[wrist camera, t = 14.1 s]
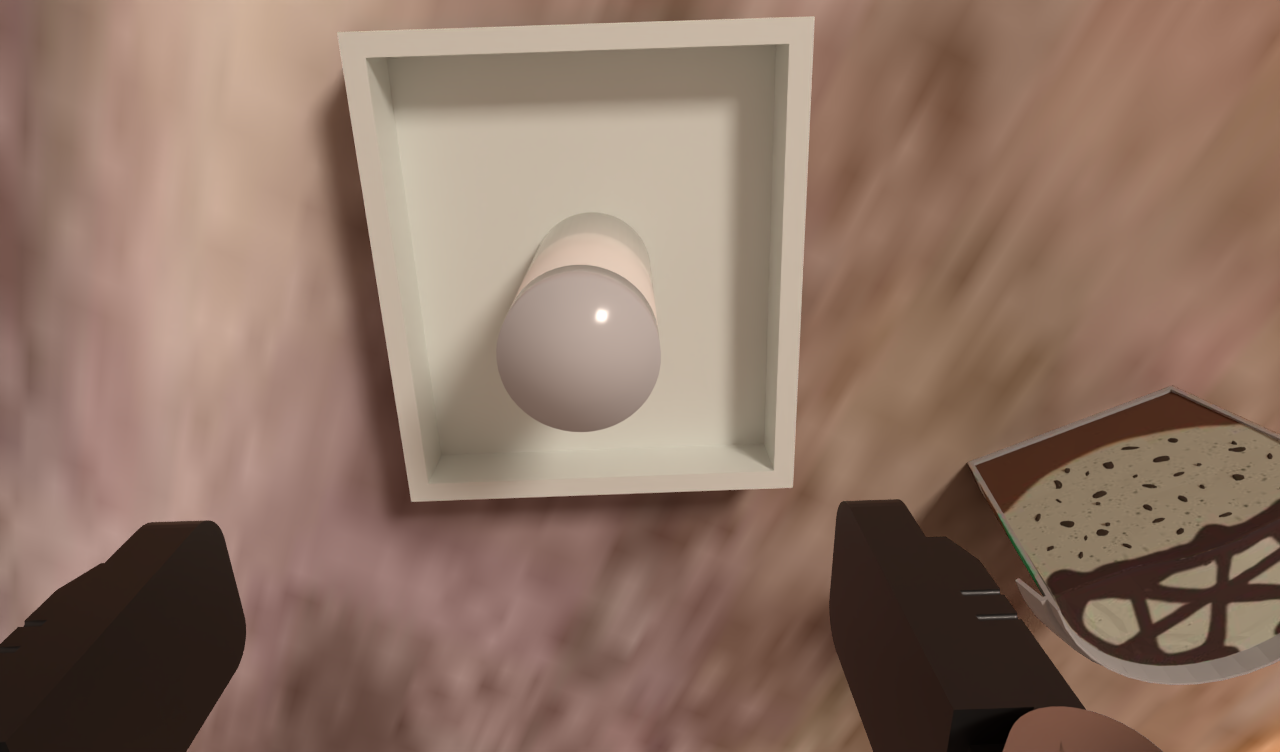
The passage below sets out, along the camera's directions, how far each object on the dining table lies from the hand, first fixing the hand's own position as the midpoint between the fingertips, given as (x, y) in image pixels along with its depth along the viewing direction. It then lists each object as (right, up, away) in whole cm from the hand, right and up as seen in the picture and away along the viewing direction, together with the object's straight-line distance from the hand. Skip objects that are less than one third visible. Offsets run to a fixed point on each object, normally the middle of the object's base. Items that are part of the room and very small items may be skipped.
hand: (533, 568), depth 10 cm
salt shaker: (0, +7, +21) cm, 22 cm away
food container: (+22, -2, +26) cm, 34 cm away
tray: (0, +7, +22) cm, 23 cm away
